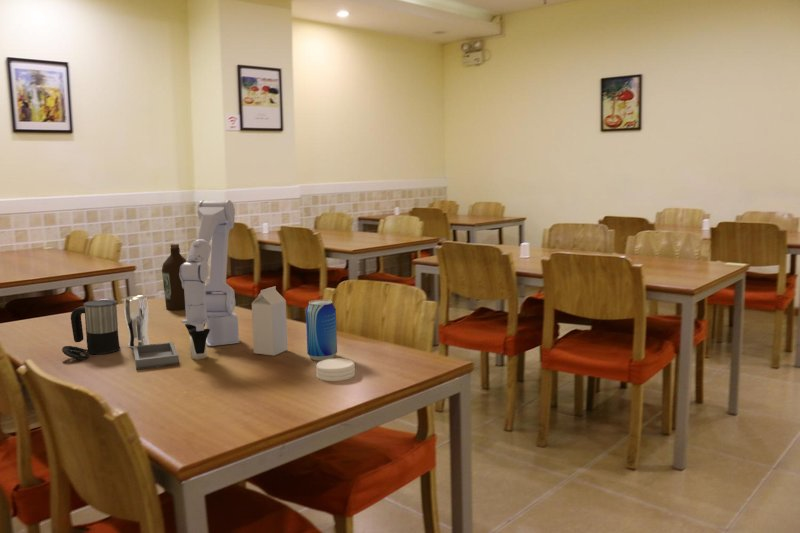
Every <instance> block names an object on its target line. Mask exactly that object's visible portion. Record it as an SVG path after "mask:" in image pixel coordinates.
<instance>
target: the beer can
mask: <svg viewBox="0 0 800 533" xmlns="http://www.w3.org/2000/svg"><path fill="white" fill-rule="evenodd" d="M305 320H306V321H305V325H306V349H307V355H308V356H309V358H310V359H311V360H312V361H313V360H314V361H323V360H327V359H334V358H335V356H336V354H337V353H338V338H337V337H338V336H337V333H338V332H337V309H336V307H335V305H334V303H333V301H332V300H331V299H315V300H309V301H308V305H307V308H306V309H305Z"/></svg>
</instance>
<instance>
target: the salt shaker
mask: <svg viewBox="0 0 800 533" xmlns="http://www.w3.org/2000/svg"><path fill="white" fill-rule="evenodd" d="M189 347H190V348H189V351H190V359H192V360H203V359H206V358H207V356H208V352H207V344H205V351H204V353H202V354H196V351H195V348H194V343H193V339H192V337H191V335H190V334H189Z"/></svg>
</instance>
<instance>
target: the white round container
mask: <svg viewBox="0 0 800 533" xmlns="http://www.w3.org/2000/svg"><path fill="white" fill-rule="evenodd" d="M315 367H316V368H315V369H316V371H315V372H316V375H315V376H316V378H317V379H318V380H320V381H323V382H324V381H325V382H341V381H342V382H343V381H347V380H350V379H352V378H354V376H355V374H356V372H355V370H356V368H355V367H356V366H355V362H354V361H353V360H351V359H347V358H340V357H339V358H337V357H336V358H335V357H334V358H332V359H327V360H319V361H318V362H317V364H316V366H315Z"/></svg>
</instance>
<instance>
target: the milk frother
mask: <svg viewBox="0 0 800 533" xmlns="http://www.w3.org/2000/svg"><path fill="white" fill-rule="evenodd" d="M117 303H118V301H117V300H115V299H99V300H98V299H97V300H91V301H90V300H89V301H86V302H84V303H83V306H79V307H78V306H77V308H74V310H72V312H71V313H70V321H71V322H70V323H71V330H72V336H73V340H74V342H75V343H80V342H82V341H84V339H85V338H84V331H83V323H82V322H83V321H82V314H84V319H85V322H84V323H85V335H86V336H85V337H86V348H87V349H85V348H82V347H78V346H72V345H66V346H64V345H63V347H62V348H61V351H62V353H63V354H64V356H68V357H69V358H72V359H74V360H75V361H78V360H80V359H88V358H89V356H90V354H92V355H104V354H110V353H111V354H112V353H114V352H117V351H120V350H121V346H120V341H119V340H120V339H119V326H118V325H119V324H118V323H119V322H118V309H117Z"/></svg>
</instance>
